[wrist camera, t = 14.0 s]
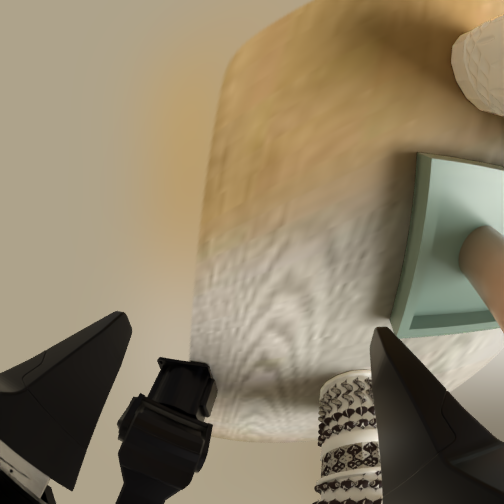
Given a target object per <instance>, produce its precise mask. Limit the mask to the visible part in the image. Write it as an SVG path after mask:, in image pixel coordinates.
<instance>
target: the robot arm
mask: <svg viewBox="0 0 504 504" xmlns="http://www.w3.org/2000/svg"><path fill="white" fill-rule="evenodd" d="M131 335H132V327H131V325H130V322H129V320H128V317H127V315H126V314H125V313H124V312H119V311H115V312H113V313H111V314H109V315H108V316H106V317H104V318H102V319H101V320H99V321H97V322H95V323H93V324H92V325H90V326H88V327H86V328H84V329H83V330H81V331H79V332H77V333H76V334H74V335H72V336H70V337H69V338H67V339H65V340H63V341H61V342H60V343H58V344H56V345H54V346H52V347H51V348H49V349H48V350H46V351H44V352H42V353H40V354H38V355H37V356H35V357H33V358H31V359H29V360H27V361H25V362H23V363H21V364H19V365H17V366H15V367H13V368H11V369H9V370H6V371H4V372H2V373H0V504H56V502H55V499H54V496H53V493H52V489H51V487H50V486H48V485H47V484H48V482H49V480H50V478H51V479H53V480H54V481H56V482H57V483H59V484H61V485H62V486H64V487H66V488H67V489H69V490H70V491H73V489H74V487H75V484H76V480H77V477H78V474H79V471H80V468H81V465H82V462H83V460H84V457H85V454H86V450H87V448H88V445H89V443H90V440H91V437H92V435H93V432H94V429H95V427H96V424H97V422H98V419H99V417H100V414H101V412H102V409H103V407H104V404H105V402H106V399H107V397H108V395H109V392H110V390H111V388H112V385H113V383H114V381H115V378H116V376H117V374H118V371H119V369H120V367H121V364H122V361H123V358H124V355H125V352H126V349H127V346H128V343H129V341H130V338H131ZM370 360H371V381H372V394H373V401H374V408H375V416H376V423H377V432H378V441H379V451H380V462H381V476H382V495H383V504H504V442H502V441H500V440H499V439H497V438H496V437H495V436H493V435H492V434H491V433H490V432H489V431H488V430H487V429H486V428H485V427H484V426H482V425H481V424H480V423H479V422H478V421H477V420H476V419H475V418H474V417H473V416H472V415H470V414H469V413H468V412H467V411H466V410H465V409H464V408H463V407H462V406H461V405H460V404H459V402H458V401H457V400H456V399H454V397H453V396H452V395H451V394H450V393H449V392H448V391H446V388H445V387H444V386H443V385H442V384H441V383H440V382H439V381H438V380H437V378H436V377H435V376H434V375H433V374H432V373H431V372H430V371H429V370H428V369H427V368H426V367H425V366H424V364H423V363H422V362H421V361H420V360H419V359H418V358H417V357H416V356H415V355H414V354H413V353H412V352H411V351H410V350H409V349H408V348H407V346H406V345H405V344H404V343H403V342H402V341H401V340H400V339H399V338H398V337H397V336H396V335H395V334H394V333H393V332H392V331H391V330H390V329H389V328H388V327H376V328H375V330H374V333H373V337H372V341H371V344H370ZM157 362H158V364H159V366H160V369H161V370H160V372H159V374H158V376H157V378H156V380H155V382H154V384H153V386H152V388H151V390H150V393H149V395H148V397H145V395H143V394H141V393H140V394H139V396H138V397H133V398H132V400H131V402H130V404H129V406H128V408H127V409H126V411H125V412H124V413H123V415H122V416H121V418H120V419H119V420H118V423H117V426H118V428H119V436H118V440H120V441H122V445H121V447H120V449H119V452H118V456H119V462H120V467H121V472H122V476H123V481H124V484H123V487H122V489H121V492H120V494H119V496H118V499H117V501H116V504H164V502H165V500H167V499H168V498H169V497H171V496H172V495H174V494H176V493H177V492H178V491H180V490H183V489H184V488H185V487H186V486H188V485H189V484H190V482H191V480H192V477H193V475H194V472H196V473H197V472H199V471H200V470H201V468H202V466H203V464H204V462H205V459H206V456H207V453H208V448H209V443H210V438H211V432H212V427H213V424H210V423H205V422H204V419H205V417H209V416H210V414H211V411H212V408H213V405H214V401H215V398H216V396H217V387H216V384H215V380H214V379H213V378H212V374H211V370H210V367H209V366H208V365H207V364H202V363H195V362H188V361H180V360H174V359H168V358H162V357H160V358H159V359H158V360H157Z"/></svg>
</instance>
